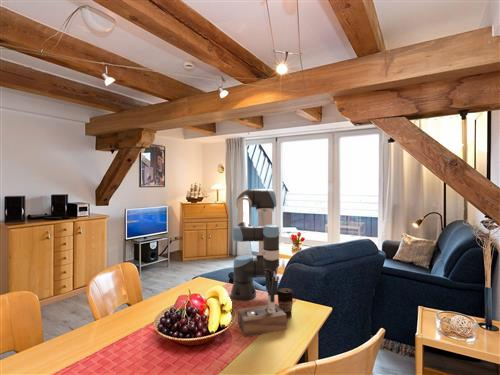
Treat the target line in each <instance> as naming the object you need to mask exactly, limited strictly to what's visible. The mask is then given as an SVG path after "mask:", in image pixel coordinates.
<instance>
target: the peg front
mask: <svg viewBox="0 0 500 375" xmlns="http://www.w3.org/2000/svg"><path fill="white" fill-rule="evenodd" d="M255 315H256V312H255V311H248V312H247V316H248V317H249V316H255Z"/></svg>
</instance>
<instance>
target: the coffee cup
mask: <svg viewBox="0 0 500 375" xmlns="http://www.w3.org/2000/svg"><path fill="white" fill-rule="evenodd" d="M294 294H295V292H294V291H293V289H292V288H288V287H283V288H279V289H278V290H277V295H276V296H277V305H278V306H279V307H280V308H281V309H282V310H283V311H284V312H285V313H286V319H288V318H291V317H292V316H293V315H292V313H293V312H292V310H293V303H294V302H293V299H294Z"/></svg>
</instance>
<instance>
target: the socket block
mask: <svg viewBox="0 0 500 375" xmlns="http://www.w3.org/2000/svg"><path fill="white" fill-rule="evenodd" d="M267 309H268V304H266V305H265V304H264V305H258V306H251V307H245V308H243V307H242V308H238V309H237V325H238V327H239V329H240V331H241V333H242V335H243V337H244V338H246V337H253V336H258V335H264V334H269V333H276V332H281V331H286V330H287V327H288V326H287V324H288V323H287V319H288V318H286V313H285V312H284V311H283V310H282V309H281V308H280V307H279V305H278V303H275V309H276V312H275V313H268V312H267ZM248 311H255V312H256V315H255V316H249V317H248V316H247V312H248Z"/></svg>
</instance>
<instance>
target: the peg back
mask: <svg viewBox="0 0 500 375" xmlns="http://www.w3.org/2000/svg"><path fill="white" fill-rule="evenodd" d="M267 312H268V313H275V312H276V309H275V308H271V309H269V308H268V309H267Z"/></svg>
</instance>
